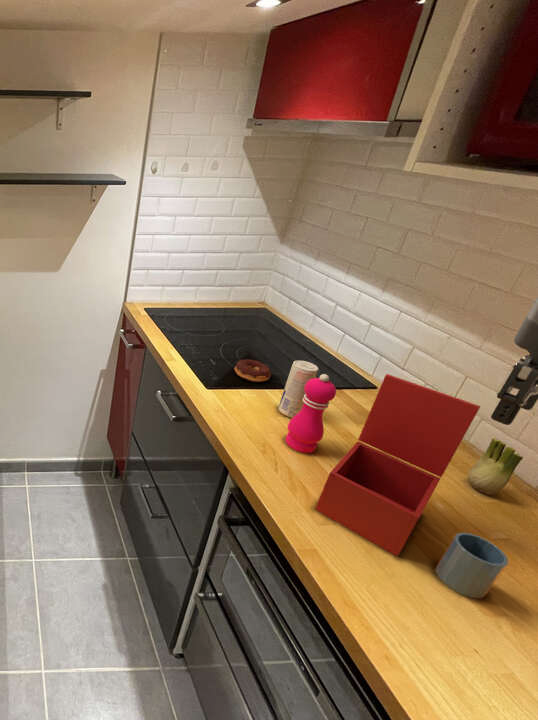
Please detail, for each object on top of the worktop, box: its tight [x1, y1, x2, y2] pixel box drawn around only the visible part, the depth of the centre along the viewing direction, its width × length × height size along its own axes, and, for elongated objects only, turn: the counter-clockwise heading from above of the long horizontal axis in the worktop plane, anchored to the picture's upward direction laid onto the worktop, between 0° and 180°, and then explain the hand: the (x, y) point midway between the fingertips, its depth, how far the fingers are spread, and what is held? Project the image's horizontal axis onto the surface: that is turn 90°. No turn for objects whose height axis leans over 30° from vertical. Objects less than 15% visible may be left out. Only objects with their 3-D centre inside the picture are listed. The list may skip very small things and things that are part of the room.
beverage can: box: [277, 360, 319, 419], centre depth 118 cm, size 6×6×15 cm
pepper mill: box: [285, 373, 337, 454], centre depth 105 cm, size 7×7×20 cm
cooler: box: [314, 440, 441, 557], centre depth 88 cm, size 16×14×10 cm
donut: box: [234, 359, 272, 383], centre depth 138 cm, size 10×10×4 cm
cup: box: [435, 532, 509, 599], centre depth 75 cm, size 6×6×8 cm
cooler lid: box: [357, 373, 481, 478], centre depth 88 cm, size 16×14×5 cm
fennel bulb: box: [467, 437, 524, 496], centre depth 94 cm, size 6×5×12 cm
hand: (510, 414), depth 71 cm, fingers open, 8 cm apart
